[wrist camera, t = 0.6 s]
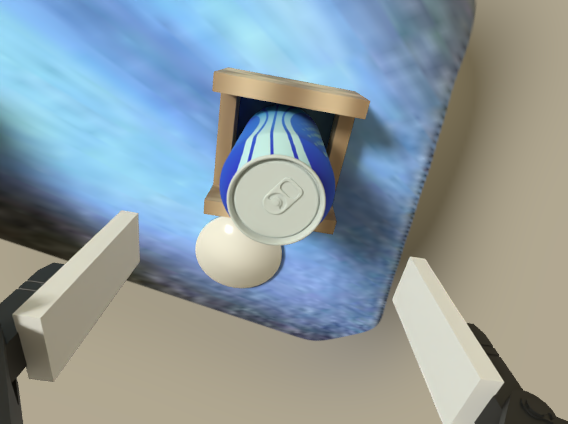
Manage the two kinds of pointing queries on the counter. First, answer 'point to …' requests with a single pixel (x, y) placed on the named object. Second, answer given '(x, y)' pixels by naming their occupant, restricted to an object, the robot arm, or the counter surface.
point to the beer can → (278, 177)
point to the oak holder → (288, 93)
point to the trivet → (235, 255)
